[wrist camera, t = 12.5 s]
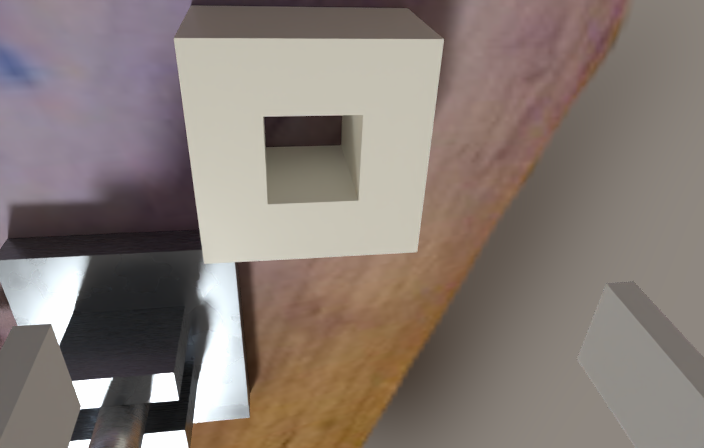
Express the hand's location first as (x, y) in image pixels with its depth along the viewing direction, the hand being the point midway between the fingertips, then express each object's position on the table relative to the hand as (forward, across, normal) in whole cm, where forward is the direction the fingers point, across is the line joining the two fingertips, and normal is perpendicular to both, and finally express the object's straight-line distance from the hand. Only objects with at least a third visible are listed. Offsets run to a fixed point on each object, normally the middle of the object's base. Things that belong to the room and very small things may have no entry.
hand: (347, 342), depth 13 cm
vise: (+17, -12, -15) cm, 25 cm away
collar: (+17, 0, -1) cm, 17 cm away
